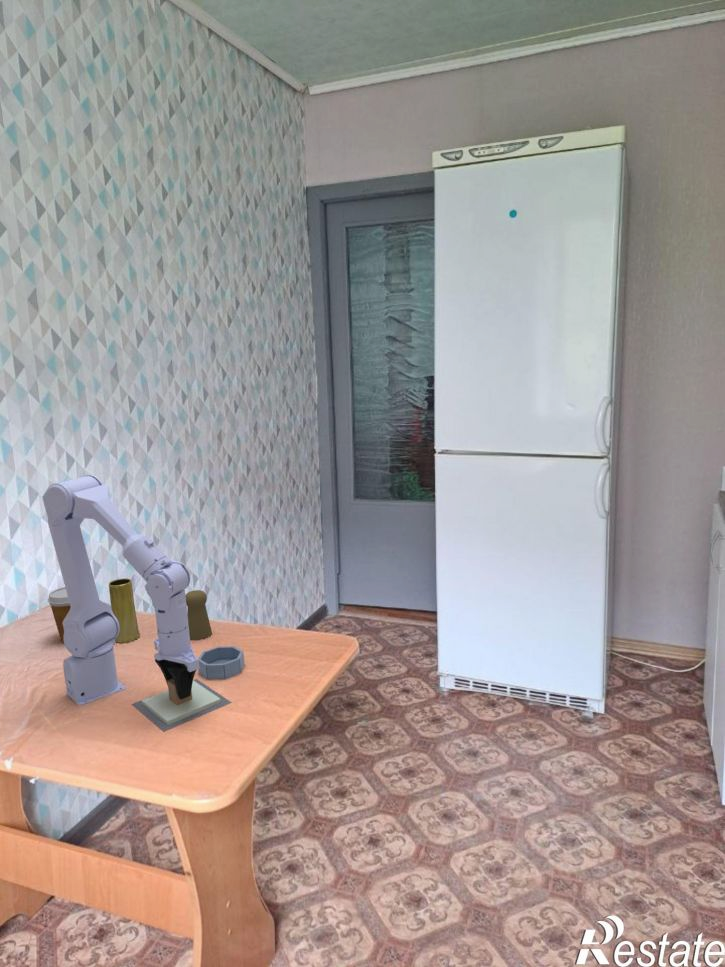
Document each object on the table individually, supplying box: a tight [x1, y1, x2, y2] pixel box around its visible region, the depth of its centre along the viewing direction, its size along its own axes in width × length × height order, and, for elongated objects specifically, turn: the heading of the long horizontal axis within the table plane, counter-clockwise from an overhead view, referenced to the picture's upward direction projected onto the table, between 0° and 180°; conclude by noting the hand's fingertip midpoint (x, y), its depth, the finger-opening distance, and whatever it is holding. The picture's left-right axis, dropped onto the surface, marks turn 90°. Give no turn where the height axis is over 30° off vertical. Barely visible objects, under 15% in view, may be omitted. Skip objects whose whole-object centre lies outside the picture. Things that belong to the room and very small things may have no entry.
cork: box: [185, 589, 213, 641], centre depth 163 cm, size 6×6×11 cm
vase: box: [108, 578, 141, 644], centre depth 163 cm, size 6×6×14 cm
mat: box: [131, 678, 232, 733], centre depth 131 cm, size 14×14×1 cm
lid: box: [141, 679, 221, 725], centre depth 130 cm, size 11×11×5 cm
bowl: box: [197, 645, 246, 680], centre depth 144 cm, size 9×9×4 cm
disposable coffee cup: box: [47, 586, 71, 643], centre depth 165 cm, size 10×10×12 cm
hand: (180, 693), depth 130 cm, fingers closed on lid, 3 cm apart
